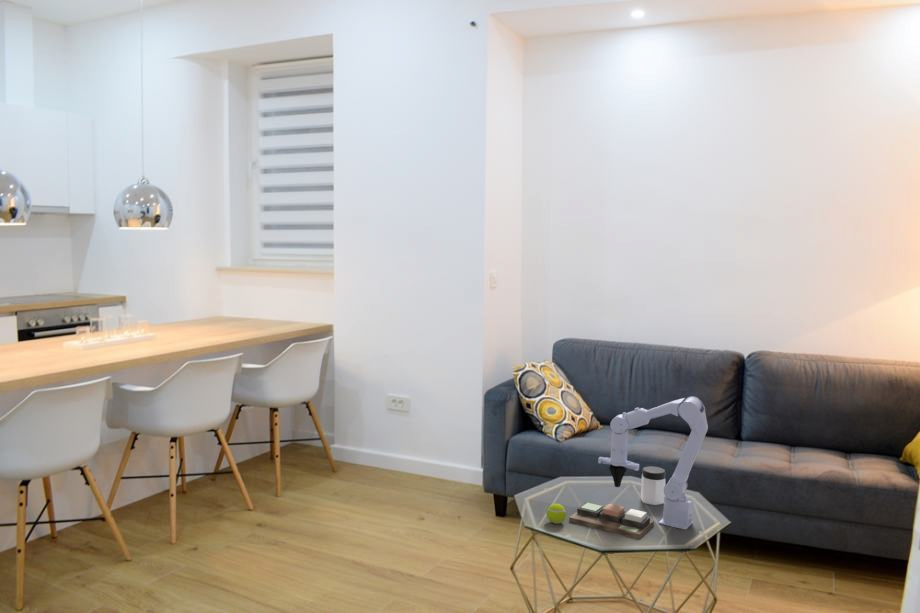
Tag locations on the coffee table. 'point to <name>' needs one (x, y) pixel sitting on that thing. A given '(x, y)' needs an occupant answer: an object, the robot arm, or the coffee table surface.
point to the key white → (636, 515)
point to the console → (611, 522)
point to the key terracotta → (613, 510)
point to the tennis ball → (556, 513)
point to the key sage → (591, 507)
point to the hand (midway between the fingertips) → (617, 486)
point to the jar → (653, 485)
